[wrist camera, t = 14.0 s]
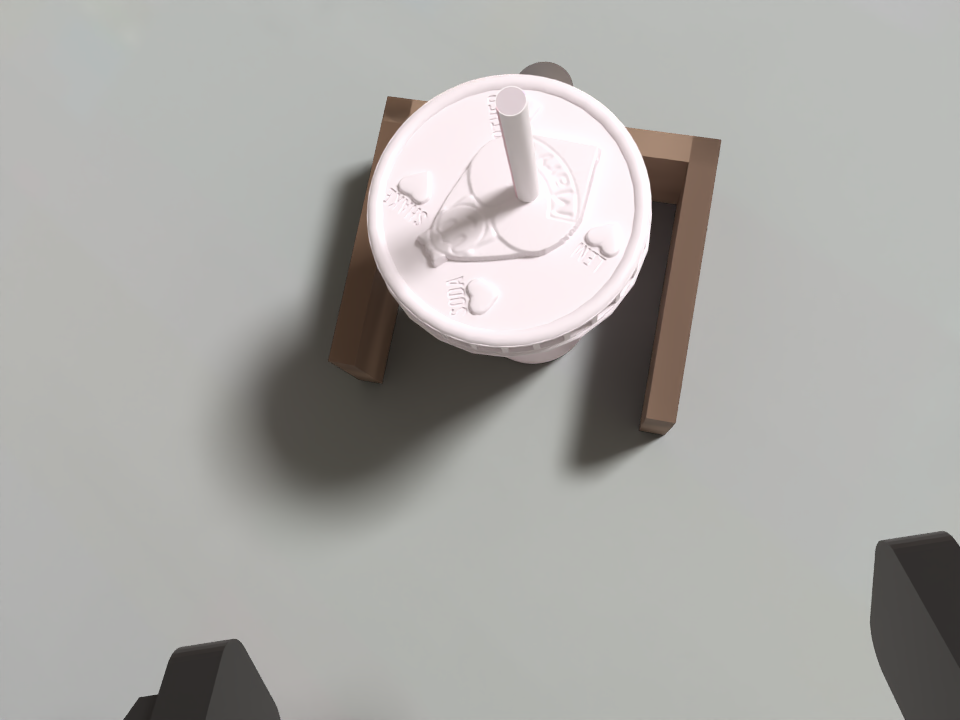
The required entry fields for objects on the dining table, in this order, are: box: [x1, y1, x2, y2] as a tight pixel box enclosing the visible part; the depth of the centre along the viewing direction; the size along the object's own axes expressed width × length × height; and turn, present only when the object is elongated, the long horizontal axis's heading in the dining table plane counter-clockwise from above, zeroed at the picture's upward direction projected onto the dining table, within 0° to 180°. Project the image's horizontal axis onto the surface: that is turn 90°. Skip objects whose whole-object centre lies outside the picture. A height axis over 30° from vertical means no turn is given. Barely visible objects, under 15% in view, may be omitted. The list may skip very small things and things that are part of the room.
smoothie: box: [367, 74, 652, 364], centre depth 22 cm, size 6×6×14 cm
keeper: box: [328, 62, 721, 435], centre depth 26 cm, size 10×9×6 cm
